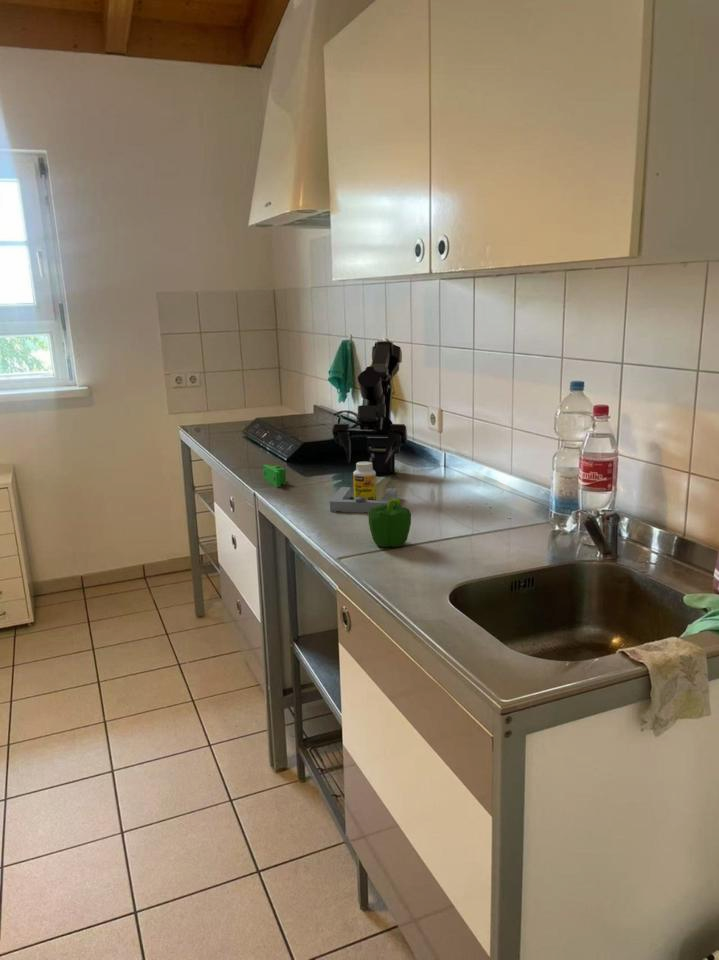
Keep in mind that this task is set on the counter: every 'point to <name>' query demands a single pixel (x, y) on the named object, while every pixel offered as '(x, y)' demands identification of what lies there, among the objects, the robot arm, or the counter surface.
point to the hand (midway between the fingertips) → (366, 462)
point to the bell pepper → (390, 524)
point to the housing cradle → (358, 501)
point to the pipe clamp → (274, 475)
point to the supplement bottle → (364, 481)
